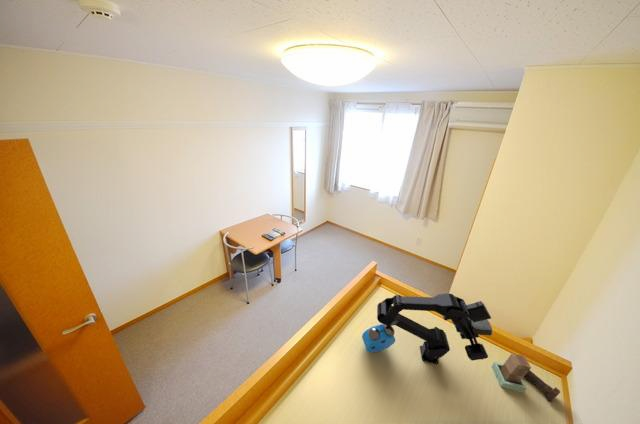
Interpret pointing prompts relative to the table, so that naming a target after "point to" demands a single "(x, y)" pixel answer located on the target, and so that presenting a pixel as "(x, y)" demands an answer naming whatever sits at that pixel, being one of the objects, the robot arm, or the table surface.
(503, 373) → the peg
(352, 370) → the table surface
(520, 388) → the collar
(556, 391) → the bolt
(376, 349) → the alarm clock
